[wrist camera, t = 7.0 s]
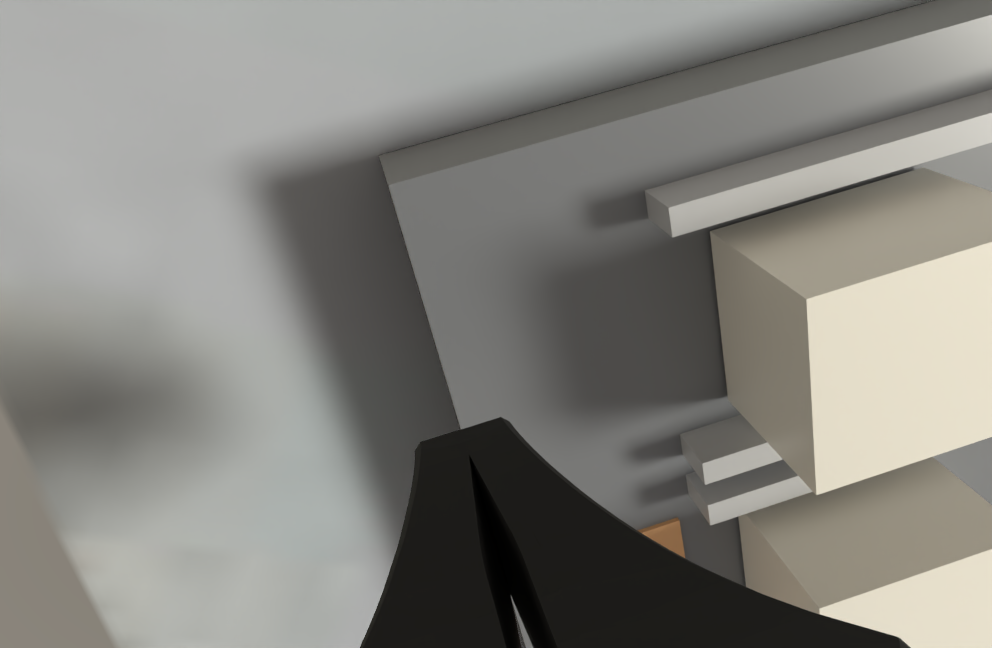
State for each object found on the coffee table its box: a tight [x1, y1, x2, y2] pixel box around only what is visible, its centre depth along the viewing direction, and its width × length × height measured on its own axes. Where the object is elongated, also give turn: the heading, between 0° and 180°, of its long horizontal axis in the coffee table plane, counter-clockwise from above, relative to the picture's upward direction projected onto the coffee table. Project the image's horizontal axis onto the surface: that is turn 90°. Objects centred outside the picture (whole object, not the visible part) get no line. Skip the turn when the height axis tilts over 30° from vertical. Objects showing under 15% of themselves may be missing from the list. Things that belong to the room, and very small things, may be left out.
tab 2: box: [738, 457, 992, 648], centre depth 16 cm, size 4×4×3 cm
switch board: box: [379, 0, 992, 648], centre depth 17 cm, size 14×20×3 cm
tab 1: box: [710, 167, 992, 495], centre depth 13 cm, size 4×4×3 cm
